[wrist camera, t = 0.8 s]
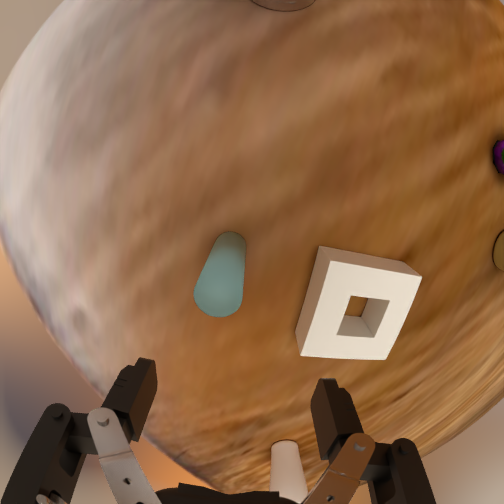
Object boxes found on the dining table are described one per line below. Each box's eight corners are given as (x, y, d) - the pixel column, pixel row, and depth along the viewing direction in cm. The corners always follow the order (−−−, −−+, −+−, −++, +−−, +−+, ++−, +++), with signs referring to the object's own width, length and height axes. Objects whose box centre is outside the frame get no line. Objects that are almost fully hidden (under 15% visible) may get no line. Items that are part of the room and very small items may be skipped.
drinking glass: (282, 434, 43) (288, 500, 29) (308, 442, 44) (317, 503, 30) (260, 447, 44) (261, 509, 30) (285, 455, 46) (290, 513, 32)
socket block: (319, 245, 31) (330, 260, 26) (402, 261, 32) (422, 276, 27) (295, 331, 35) (300, 355, 30) (373, 338, 36) (385, 359, 31)
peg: (216, 229, 31) (195, 269, 19) (248, 234, 31) (246, 278, 19) (212, 259, 32) (191, 312, 20) (243, 264, 32) (238, 320, 21)
